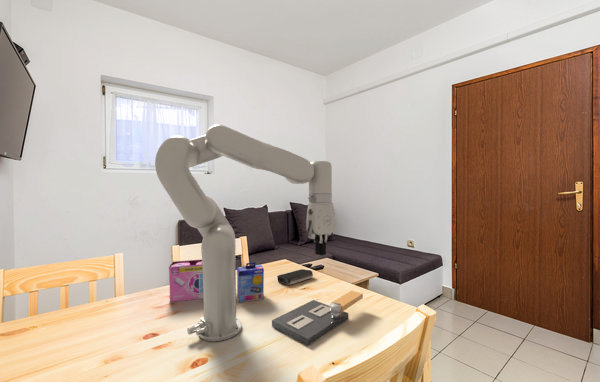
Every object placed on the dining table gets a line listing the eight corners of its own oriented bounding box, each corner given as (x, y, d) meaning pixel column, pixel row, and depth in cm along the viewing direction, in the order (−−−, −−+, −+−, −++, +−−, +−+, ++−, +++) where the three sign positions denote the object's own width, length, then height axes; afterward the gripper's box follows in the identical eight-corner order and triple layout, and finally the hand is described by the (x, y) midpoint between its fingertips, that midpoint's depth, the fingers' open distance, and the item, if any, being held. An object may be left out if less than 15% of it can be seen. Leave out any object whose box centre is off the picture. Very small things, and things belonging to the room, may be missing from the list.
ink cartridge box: (238, 303, 102) (238, 264, 101) (236, 297, 107) (236, 261, 106) (264, 299, 105) (264, 262, 105) (261, 293, 110) (261, 258, 110)
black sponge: (287, 287, 117) (287, 279, 117) (275, 282, 123) (275, 274, 123) (314, 279, 127) (314, 271, 127) (302, 274, 134) (302, 267, 134)
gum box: (234, 288, 116) (233, 256, 116) (234, 295, 109) (233, 262, 108) (173, 294, 111) (172, 261, 110) (169, 302, 103) (168, 267, 102)
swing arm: (326, 309, 87) (326, 304, 86) (351, 294, 98) (351, 290, 98) (338, 314, 84) (338, 309, 84) (362, 298, 95) (362, 293, 95)
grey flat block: (307, 346, 75) (307, 331, 75) (271, 326, 85) (271, 313, 85) (348, 319, 89) (348, 307, 89) (313, 305, 99) (313, 294, 99)
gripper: (314, 200, 81) (314, 261, 82) (342, 198, 92) (343, 252, 93) (296, 199, 87) (296, 256, 87) (325, 197, 97) (325, 248, 98)
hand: (320, 254), depth 90 cm, fingers closed
